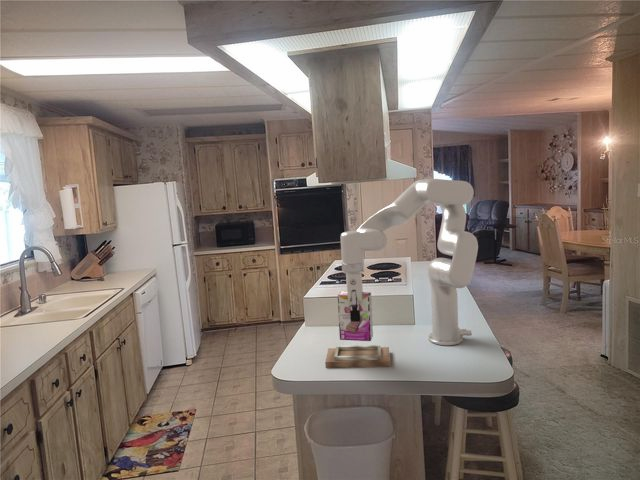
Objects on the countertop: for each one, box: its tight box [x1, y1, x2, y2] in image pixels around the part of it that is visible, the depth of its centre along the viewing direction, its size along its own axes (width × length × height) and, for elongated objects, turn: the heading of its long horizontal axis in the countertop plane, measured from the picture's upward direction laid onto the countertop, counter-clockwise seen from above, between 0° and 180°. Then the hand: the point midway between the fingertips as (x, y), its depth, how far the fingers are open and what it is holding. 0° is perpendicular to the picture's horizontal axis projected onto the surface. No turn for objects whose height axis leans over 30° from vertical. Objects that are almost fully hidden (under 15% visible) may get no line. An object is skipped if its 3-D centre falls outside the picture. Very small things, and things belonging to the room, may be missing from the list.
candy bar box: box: [337, 291, 374, 342], centre depth 150 cm, size 11×5×16 cm, turn 74°
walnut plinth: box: [324, 344, 392, 369], centre depth 152 cm, size 22×12×3 cm, turn 84°
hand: (355, 318), depth 150 cm, fingers closed on candy bar box, 5 cm apart
